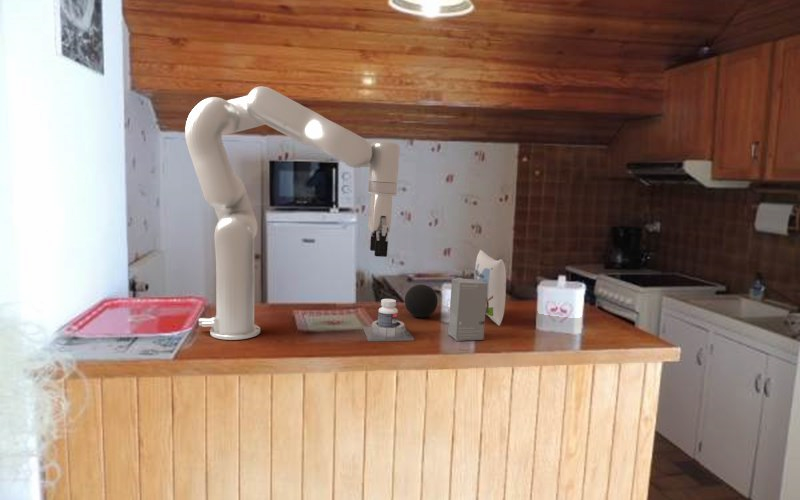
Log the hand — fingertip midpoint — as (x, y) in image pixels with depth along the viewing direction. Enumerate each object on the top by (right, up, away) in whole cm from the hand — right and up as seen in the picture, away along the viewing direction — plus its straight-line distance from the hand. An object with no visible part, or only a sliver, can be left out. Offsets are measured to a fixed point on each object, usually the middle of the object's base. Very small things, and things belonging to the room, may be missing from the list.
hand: (378, 253), depth 152 cm
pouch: (+33, -20, +24) cm, 46 cm away
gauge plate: (+3, -22, +2) cm, 22 cm away
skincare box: (+24, -23, +3) cm, 33 cm away
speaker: (+12, -20, +22) cm, 32 cm away
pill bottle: (+2, -22, +2) cm, 22 cm away
